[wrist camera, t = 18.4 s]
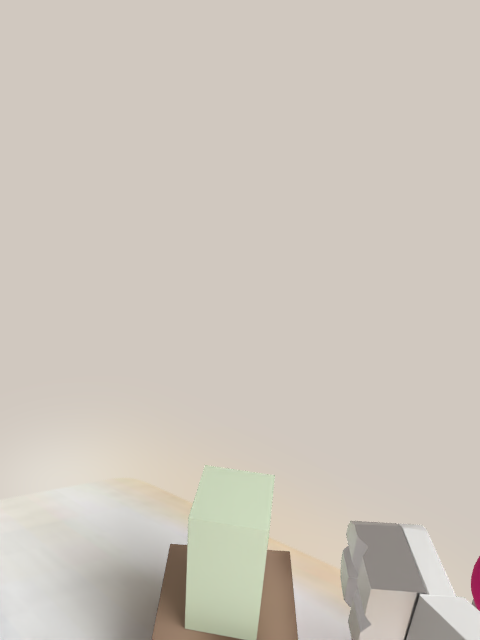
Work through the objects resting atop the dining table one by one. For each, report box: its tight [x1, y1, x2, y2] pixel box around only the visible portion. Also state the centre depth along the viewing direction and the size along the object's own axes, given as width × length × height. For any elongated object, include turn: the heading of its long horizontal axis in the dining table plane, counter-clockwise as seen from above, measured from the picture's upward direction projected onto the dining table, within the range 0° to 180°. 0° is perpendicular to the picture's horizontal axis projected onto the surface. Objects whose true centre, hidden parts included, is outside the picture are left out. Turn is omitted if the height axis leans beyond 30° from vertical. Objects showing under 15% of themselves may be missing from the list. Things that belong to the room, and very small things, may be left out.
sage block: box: [185, 465, 275, 640], centre depth 32 cm, size 5×5×10 cm
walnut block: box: [152, 544, 298, 640], centre depth 35 cm, size 10×10×6 cm
